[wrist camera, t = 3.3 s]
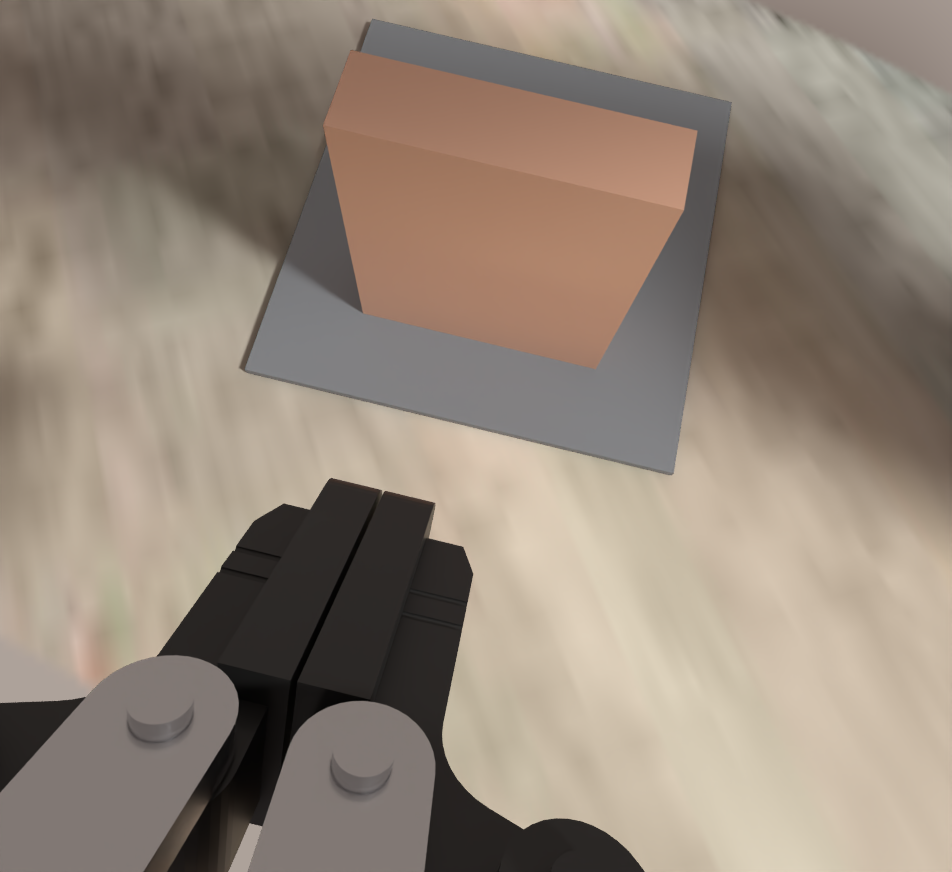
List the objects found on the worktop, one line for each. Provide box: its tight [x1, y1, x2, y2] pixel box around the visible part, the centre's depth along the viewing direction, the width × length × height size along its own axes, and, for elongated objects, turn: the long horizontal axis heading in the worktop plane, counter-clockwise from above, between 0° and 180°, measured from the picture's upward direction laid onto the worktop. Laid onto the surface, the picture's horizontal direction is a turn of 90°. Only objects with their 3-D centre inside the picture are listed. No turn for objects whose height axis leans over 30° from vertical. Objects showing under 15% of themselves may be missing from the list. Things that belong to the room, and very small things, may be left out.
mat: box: [245, 19, 732, 475], centre depth 29 cm, size 16×17×1 cm
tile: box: [323, 50, 697, 369], centre depth 22 cm, size 9×2×10 cm, turn 77°
